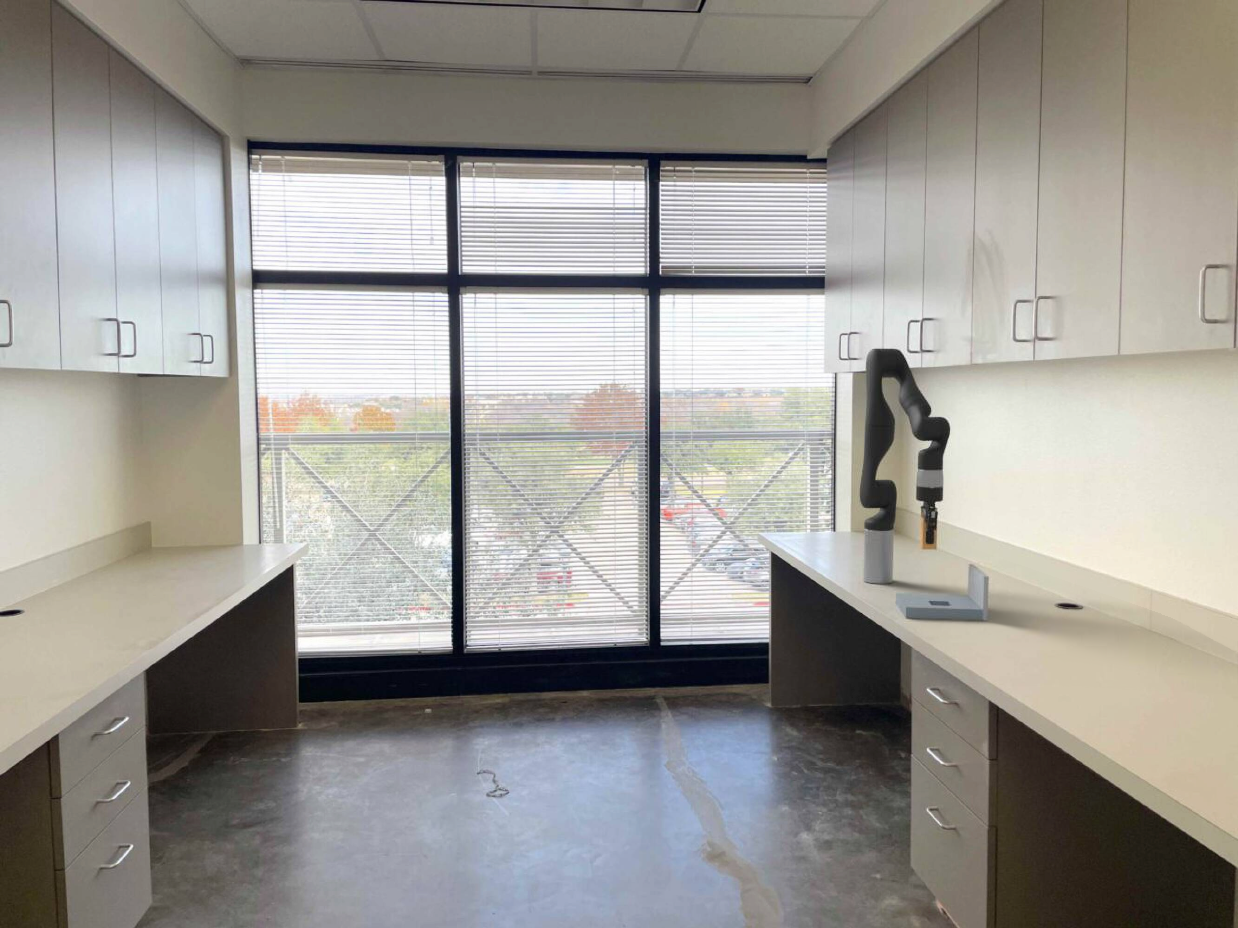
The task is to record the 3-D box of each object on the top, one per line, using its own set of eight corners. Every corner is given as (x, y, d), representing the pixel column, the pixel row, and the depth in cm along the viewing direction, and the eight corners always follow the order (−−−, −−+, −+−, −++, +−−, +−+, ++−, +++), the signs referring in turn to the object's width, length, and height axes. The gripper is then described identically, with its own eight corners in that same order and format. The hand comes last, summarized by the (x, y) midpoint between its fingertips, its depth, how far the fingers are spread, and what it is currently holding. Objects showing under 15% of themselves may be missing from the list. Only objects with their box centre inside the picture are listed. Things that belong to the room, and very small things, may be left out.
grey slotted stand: (895, 603, 266) (896, 562, 266) (971, 605, 263) (973, 564, 262) (905, 617, 249) (906, 574, 248) (987, 620, 246) (988, 576, 245)
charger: (919, 546, 273) (920, 516, 272) (933, 547, 272) (934, 516, 272) (922, 549, 269) (923, 518, 268) (936, 549, 269) (937, 518, 268)
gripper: (912, 482, 277) (911, 538, 278) (920, 487, 263) (919, 546, 264) (938, 482, 276) (936, 538, 277) (948, 487, 262) (946, 546, 263)
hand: (928, 542), depth 271 cm, fingers closed on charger, 4 cm apart
